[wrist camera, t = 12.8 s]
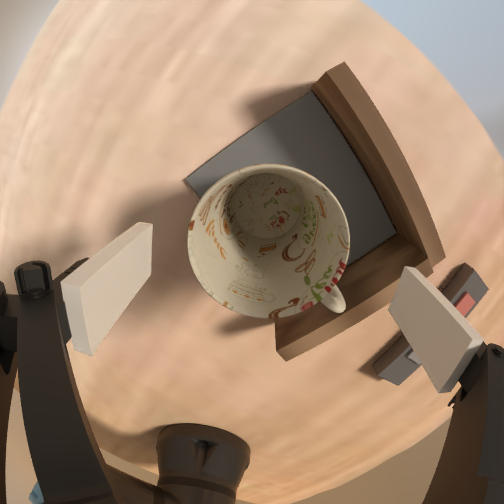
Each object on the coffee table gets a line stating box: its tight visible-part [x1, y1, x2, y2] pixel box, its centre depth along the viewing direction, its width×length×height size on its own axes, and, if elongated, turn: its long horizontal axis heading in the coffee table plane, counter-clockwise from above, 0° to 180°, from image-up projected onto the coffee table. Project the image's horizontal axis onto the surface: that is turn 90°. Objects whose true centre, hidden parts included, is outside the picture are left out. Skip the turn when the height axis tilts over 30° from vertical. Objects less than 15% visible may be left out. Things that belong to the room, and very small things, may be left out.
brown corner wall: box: [275, 62, 446, 361], centre depth 21 cm, size 16×16×6 cm
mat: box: [186, 92, 396, 267], centre depth 24 cm, size 13×14×1 cm
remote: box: [373, 263, 489, 385], centre depth 27 cm, size 16×4×2 cm, turn 146°
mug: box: [187, 164, 350, 318], centre depth 19 cm, size 8×13×10 cm, turn 47°
